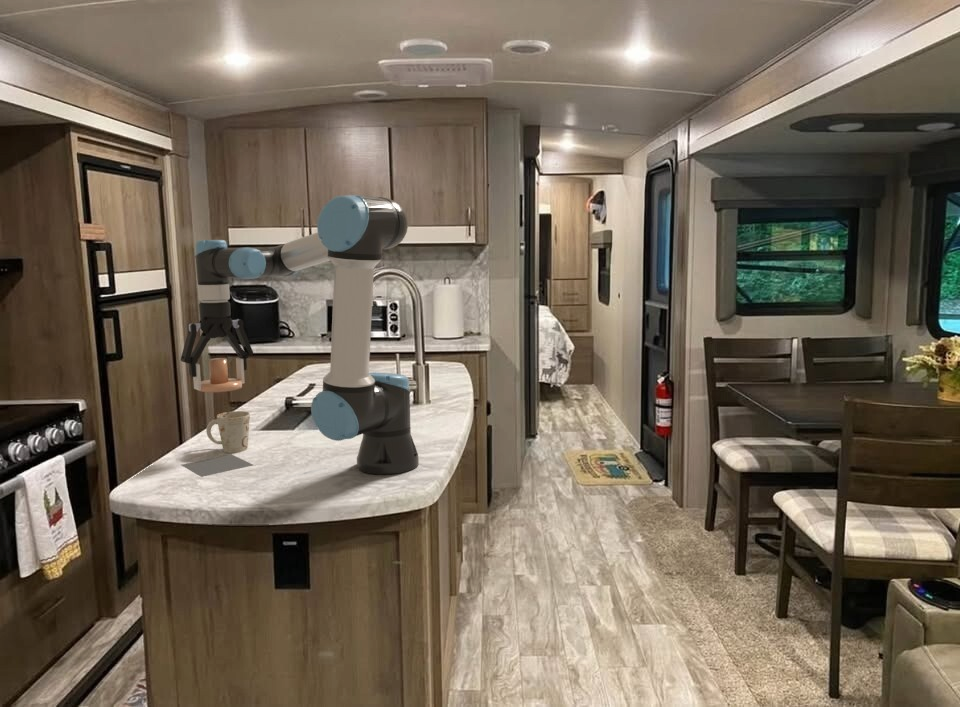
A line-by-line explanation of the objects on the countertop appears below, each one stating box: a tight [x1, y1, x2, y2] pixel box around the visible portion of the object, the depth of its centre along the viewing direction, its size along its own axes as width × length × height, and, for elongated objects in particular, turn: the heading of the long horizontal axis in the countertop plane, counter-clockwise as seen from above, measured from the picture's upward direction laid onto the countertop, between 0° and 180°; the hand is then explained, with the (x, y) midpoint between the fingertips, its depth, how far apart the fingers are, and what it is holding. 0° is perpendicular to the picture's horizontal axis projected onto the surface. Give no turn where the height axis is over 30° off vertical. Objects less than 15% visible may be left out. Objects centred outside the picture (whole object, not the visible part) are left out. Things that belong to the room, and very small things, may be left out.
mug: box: [206, 410, 251, 454], centre depth 198 cm, size 8×13×10 cm, turn 78°
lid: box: [197, 357, 243, 393], centre depth 192 cm, size 11×11×8 cm
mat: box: [181, 453, 254, 478], centre depth 184 cm, size 13×13×1 cm
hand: (219, 386), depth 192 cm, fingers closed on lid, 11 cm apart
